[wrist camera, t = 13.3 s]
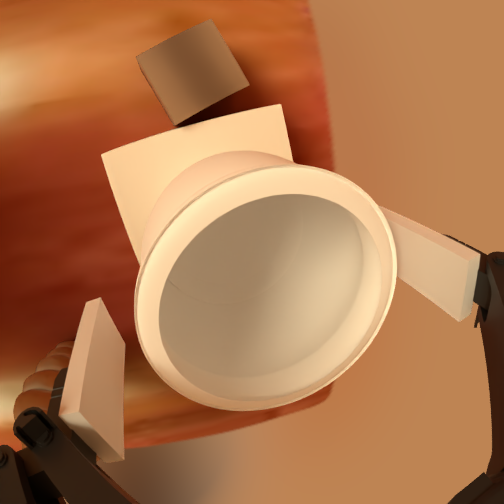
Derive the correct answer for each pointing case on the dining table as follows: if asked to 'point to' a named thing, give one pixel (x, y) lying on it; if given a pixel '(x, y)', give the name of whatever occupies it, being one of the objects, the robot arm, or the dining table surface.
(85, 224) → the dining table surface
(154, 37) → the dining table surface
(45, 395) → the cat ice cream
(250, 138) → the cream block
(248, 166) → the jar
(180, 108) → the walnut cube
